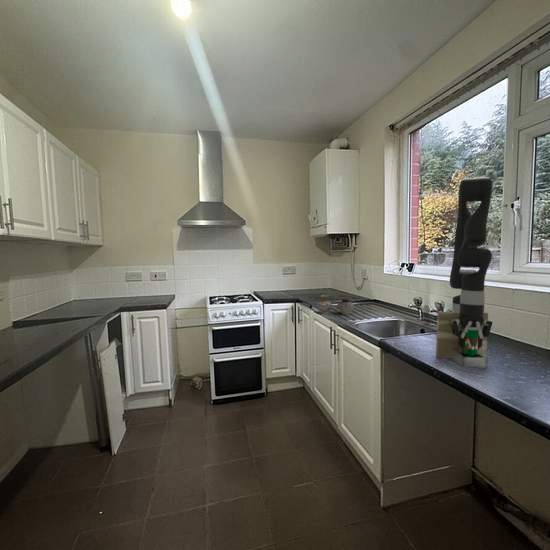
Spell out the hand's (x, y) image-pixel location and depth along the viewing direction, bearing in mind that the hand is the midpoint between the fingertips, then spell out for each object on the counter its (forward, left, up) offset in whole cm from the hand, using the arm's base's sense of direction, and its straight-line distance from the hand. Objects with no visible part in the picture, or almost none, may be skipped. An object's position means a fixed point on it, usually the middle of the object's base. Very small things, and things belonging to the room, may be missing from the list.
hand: (469, 347), depth 113 cm
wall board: (-6, 0, -6) cm, 9 cm away
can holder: (0, 0, -6) cm, 6 cm away
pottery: (-88, -41, -6) cm, 97 cm away
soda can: (0, 0, -4) cm, 4 cm away
